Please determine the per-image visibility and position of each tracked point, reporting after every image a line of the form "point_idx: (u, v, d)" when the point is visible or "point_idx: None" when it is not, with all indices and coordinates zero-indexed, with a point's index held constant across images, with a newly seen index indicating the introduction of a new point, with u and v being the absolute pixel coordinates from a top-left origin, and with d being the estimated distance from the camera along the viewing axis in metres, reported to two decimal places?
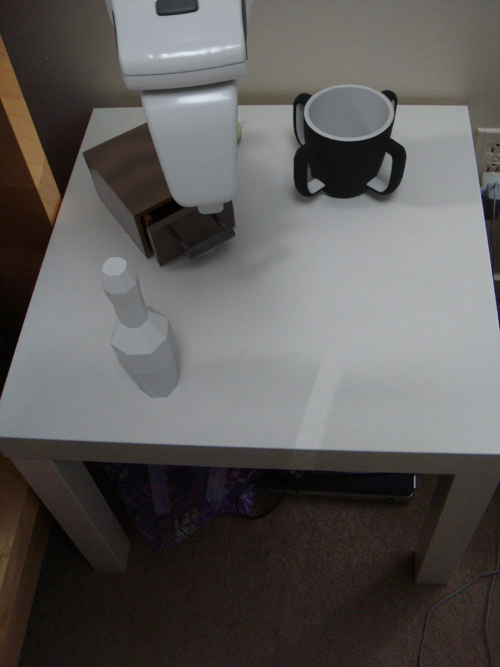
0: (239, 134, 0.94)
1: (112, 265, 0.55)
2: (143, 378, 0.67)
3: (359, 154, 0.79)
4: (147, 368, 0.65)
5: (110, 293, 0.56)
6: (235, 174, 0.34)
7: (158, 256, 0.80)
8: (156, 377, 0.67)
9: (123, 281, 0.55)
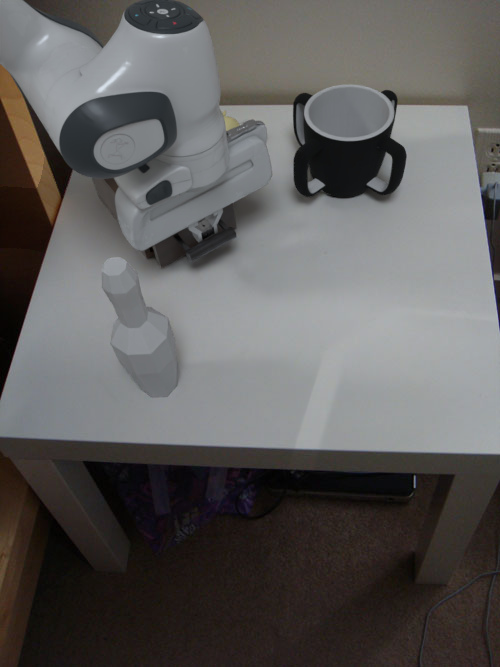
0: None
1: (112, 265, 0.55)
2: (143, 378, 0.67)
3: (359, 154, 0.79)
4: (147, 368, 0.65)
5: (110, 293, 0.56)
6: (135, 241, 0.69)
7: (159, 257, 0.80)
8: (156, 377, 0.67)
9: (123, 281, 0.55)
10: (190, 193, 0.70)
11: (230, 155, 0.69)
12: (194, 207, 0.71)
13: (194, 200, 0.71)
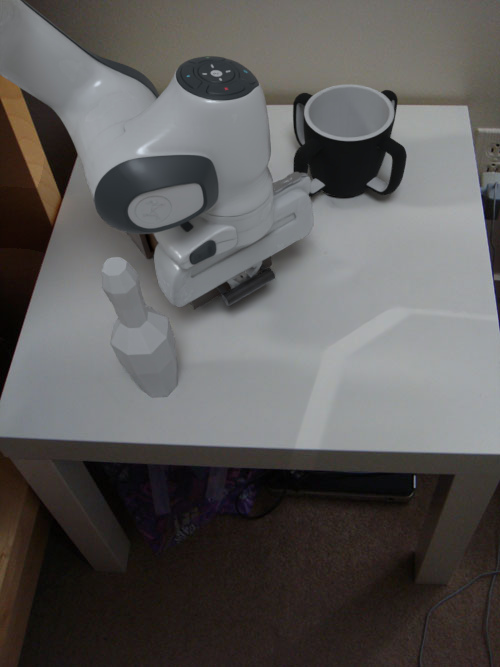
0: None
1: (112, 265, 0.55)
2: (143, 378, 0.67)
3: (359, 154, 0.79)
4: (147, 368, 0.65)
5: (110, 293, 0.56)
6: (175, 298, 0.67)
7: None
8: (156, 377, 0.67)
9: (123, 281, 0.55)
10: (232, 248, 0.67)
11: (274, 209, 0.66)
12: (235, 261, 0.69)
13: (236, 255, 0.68)
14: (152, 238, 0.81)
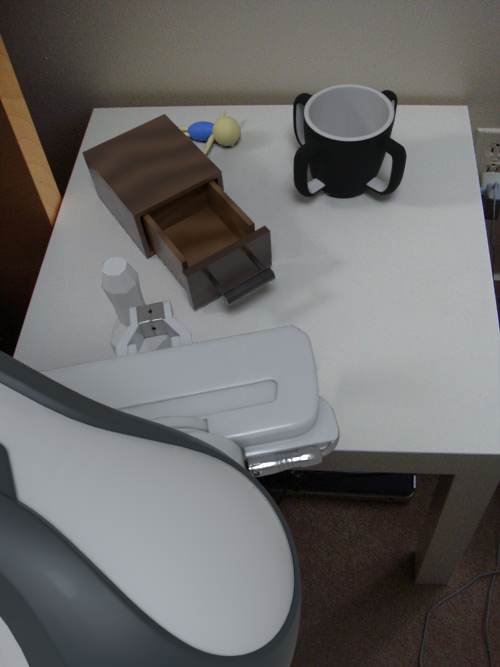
0: (238, 134, 0.94)
1: (112, 265, 0.55)
2: None
3: (359, 154, 0.79)
4: None
5: (110, 293, 0.56)
6: None
7: (193, 299, 0.76)
8: None
9: (123, 281, 0.55)
10: None
11: None
12: None
13: None
14: (152, 238, 0.81)
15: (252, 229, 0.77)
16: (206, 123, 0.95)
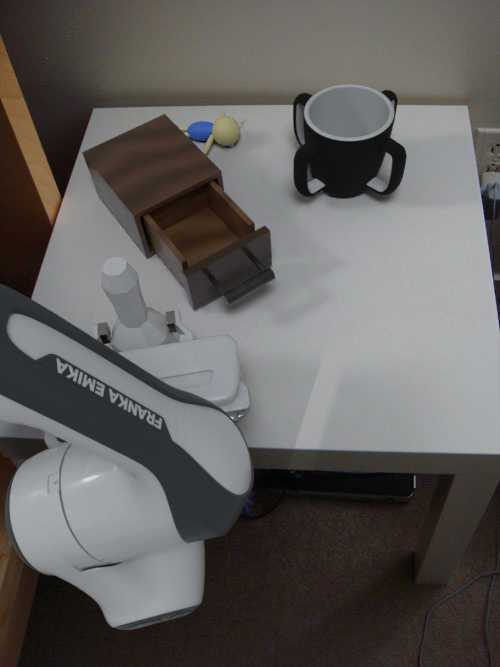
0: (238, 134, 0.94)
1: (112, 265, 0.55)
2: None
3: (359, 154, 0.79)
4: None
5: (110, 293, 0.56)
6: None
7: (193, 299, 0.76)
8: None
9: (123, 281, 0.55)
10: None
11: None
12: None
13: None
14: (152, 238, 0.81)
15: (252, 229, 0.77)
16: (206, 123, 0.95)
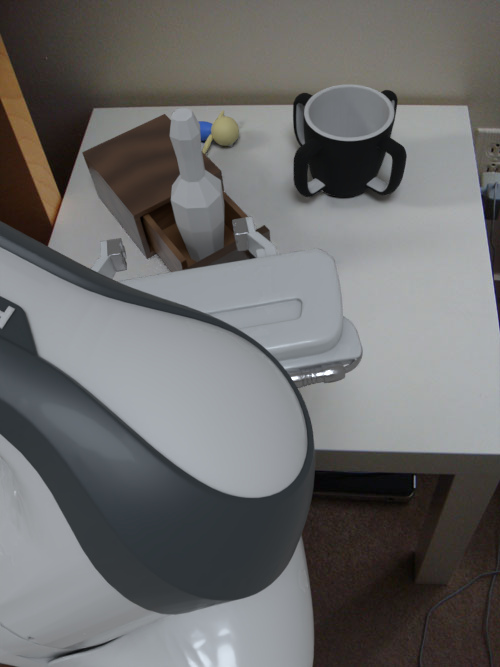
0: (237, 134, 0.94)
1: (180, 113, 0.63)
2: (197, 238, 0.75)
3: (359, 154, 0.79)
4: (202, 225, 0.73)
5: (177, 140, 0.64)
6: None
7: None
8: (209, 236, 0.75)
9: (189, 127, 0.63)
10: None
11: None
12: None
13: None
14: (152, 238, 0.81)
15: None
16: (205, 123, 0.95)
